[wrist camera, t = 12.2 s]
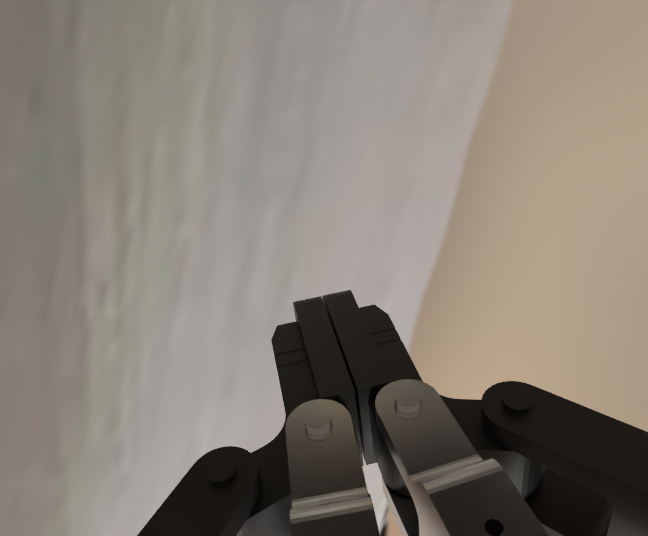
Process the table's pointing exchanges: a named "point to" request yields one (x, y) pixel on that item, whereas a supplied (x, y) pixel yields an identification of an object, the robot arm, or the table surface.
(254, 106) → the table surface
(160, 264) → the table surface
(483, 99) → the table surface
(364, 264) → the table surface
